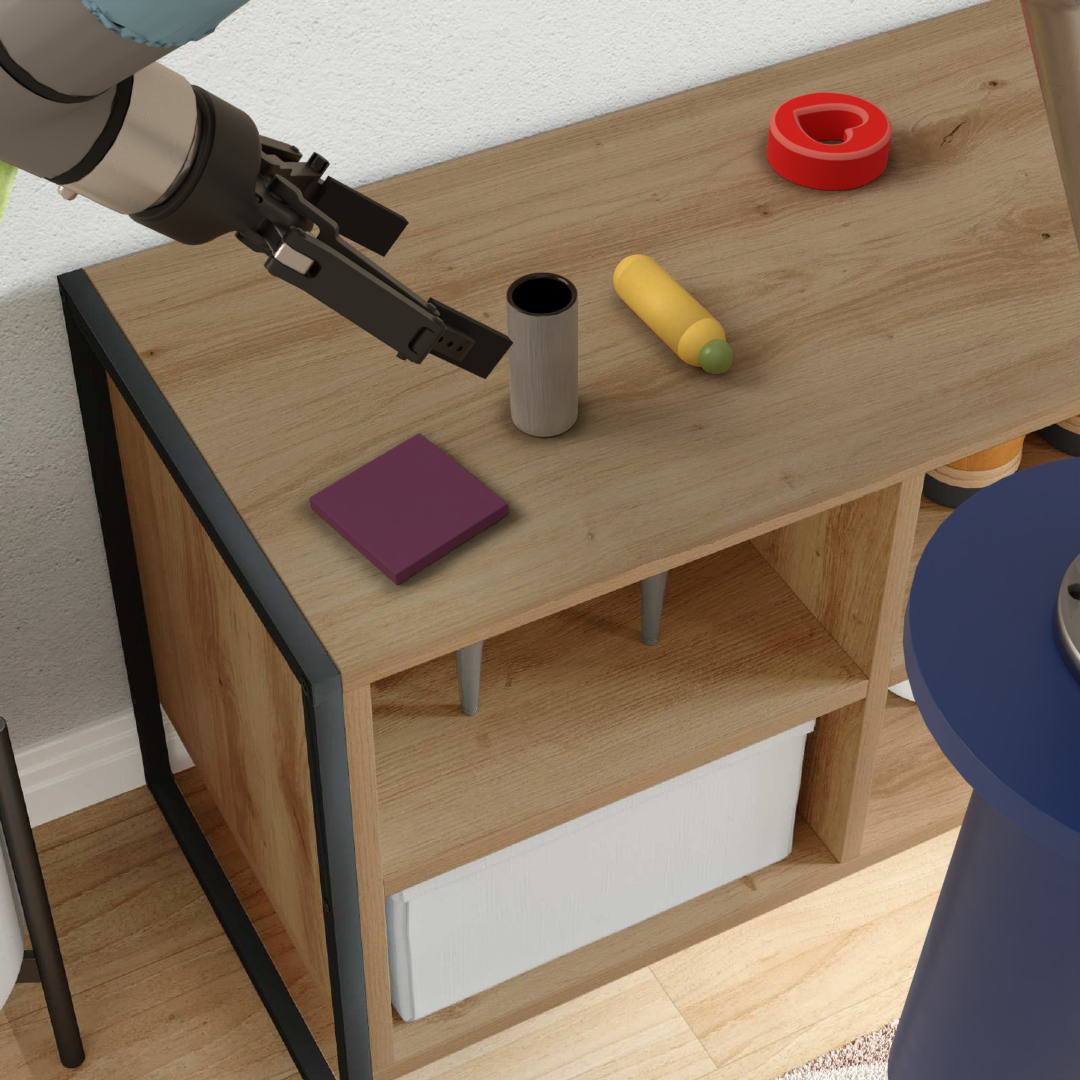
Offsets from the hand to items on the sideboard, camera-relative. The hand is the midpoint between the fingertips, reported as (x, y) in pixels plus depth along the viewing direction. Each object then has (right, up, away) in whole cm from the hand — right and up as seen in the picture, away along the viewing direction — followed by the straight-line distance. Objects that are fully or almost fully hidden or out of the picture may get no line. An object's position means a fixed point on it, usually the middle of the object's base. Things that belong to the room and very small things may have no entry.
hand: (443, 294), depth 95 cm
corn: (+15, 0, +18) cm, 23 cm away
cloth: (-3, -13, +6) cm, 14 cm away
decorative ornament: (+29, +16, +33) cm, 47 cm away
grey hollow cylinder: (+6, -6, +12) cm, 15 cm away
